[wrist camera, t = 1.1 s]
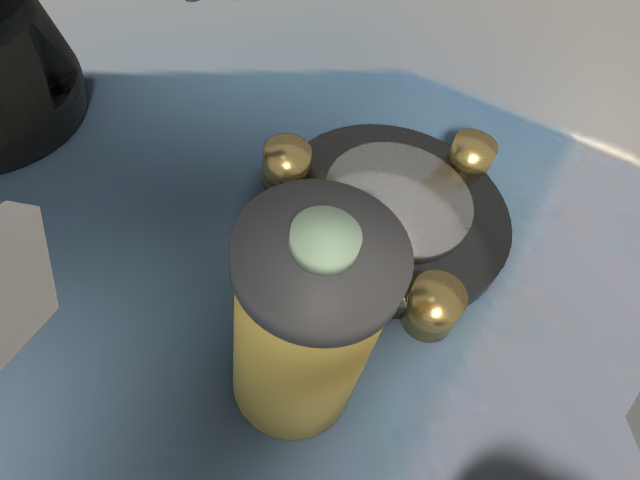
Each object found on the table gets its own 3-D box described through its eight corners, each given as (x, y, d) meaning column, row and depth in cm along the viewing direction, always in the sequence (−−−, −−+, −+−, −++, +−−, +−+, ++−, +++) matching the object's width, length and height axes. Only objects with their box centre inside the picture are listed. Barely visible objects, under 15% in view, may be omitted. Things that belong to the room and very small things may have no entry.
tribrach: (224, 190, 37) (224, 158, 35) (398, 103, 46) (407, 73, 43) (399, 376, 31) (414, 353, 28) (565, 235, 39) (587, 208, 37)
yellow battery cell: (204, 370, 29) (190, 214, 19) (300, 305, 33) (334, 141, 22) (282, 473, 27) (316, 357, 16) (378, 391, 30) (458, 251, 19)
